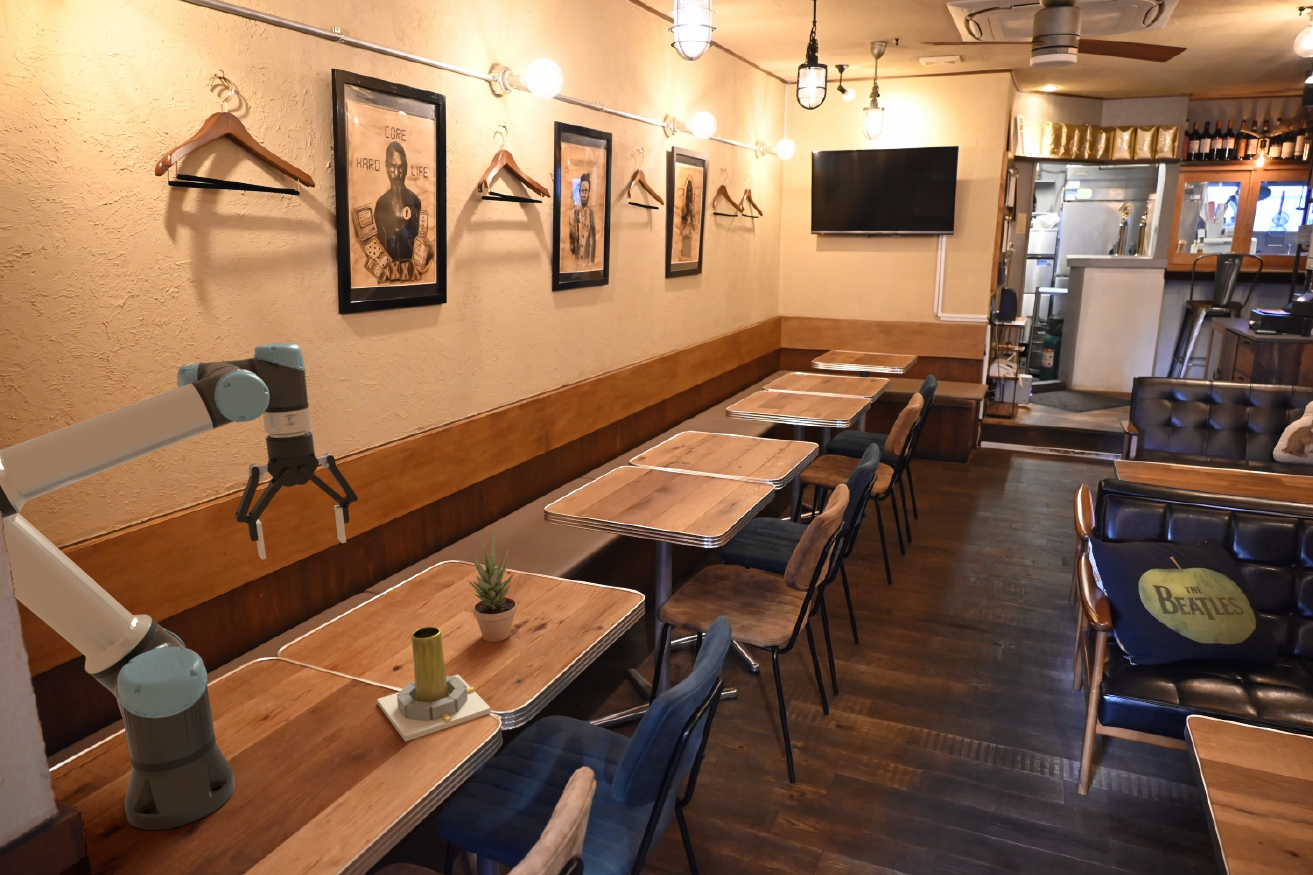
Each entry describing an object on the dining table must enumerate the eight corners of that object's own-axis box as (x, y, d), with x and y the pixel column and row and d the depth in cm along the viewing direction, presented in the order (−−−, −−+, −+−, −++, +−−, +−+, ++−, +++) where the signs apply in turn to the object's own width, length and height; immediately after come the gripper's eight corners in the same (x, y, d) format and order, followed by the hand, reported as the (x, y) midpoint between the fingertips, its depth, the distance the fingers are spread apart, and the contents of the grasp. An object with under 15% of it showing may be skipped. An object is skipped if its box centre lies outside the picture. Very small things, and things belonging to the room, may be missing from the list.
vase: (409, 710, 160) (402, 638, 157) (424, 694, 166) (418, 624, 163) (441, 713, 159) (434, 640, 156) (454, 696, 165) (448, 626, 162)
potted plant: (510, 646, 187) (503, 536, 182) (468, 644, 188) (459, 535, 183) (525, 626, 197) (518, 521, 191) (484, 624, 198) (476, 520, 193)
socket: (405, 741, 152) (403, 723, 151) (377, 703, 165) (375, 686, 164) (491, 712, 161) (489, 695, 160) (458, 678, 174) (457, 662, 173)
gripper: (212, 447, 142) (230, 570, 147) (367, 426, 155) (379, 539, 160) (206, 439, 148) (223, 558, 153) (355, 420, 162) (367, 529, 166)
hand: (303, 549), depth 156 cm, fingers open, 13 cm apart
